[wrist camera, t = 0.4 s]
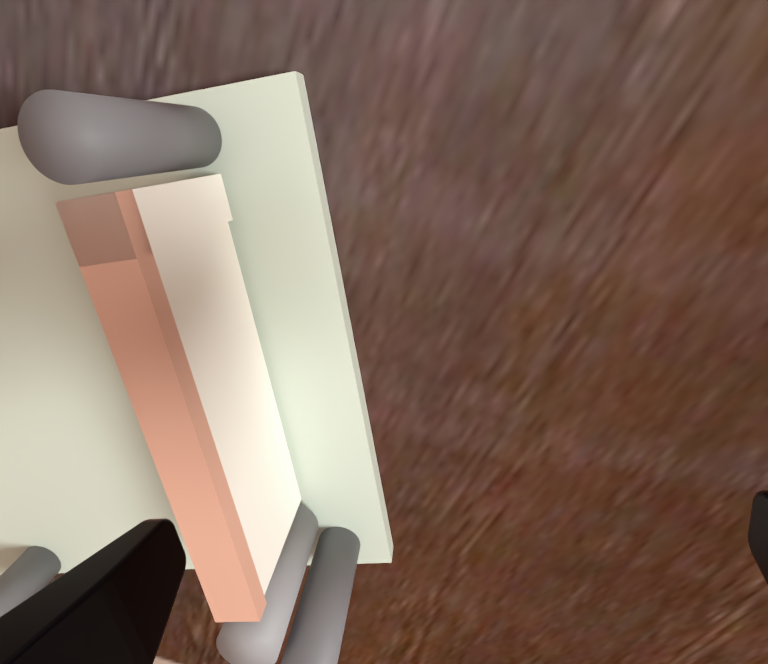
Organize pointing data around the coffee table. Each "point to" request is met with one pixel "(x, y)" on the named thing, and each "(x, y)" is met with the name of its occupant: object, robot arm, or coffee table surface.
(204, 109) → the gate base
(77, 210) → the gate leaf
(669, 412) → the coffee table surface
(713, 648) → the coffee table surface
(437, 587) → the coffee table surface
